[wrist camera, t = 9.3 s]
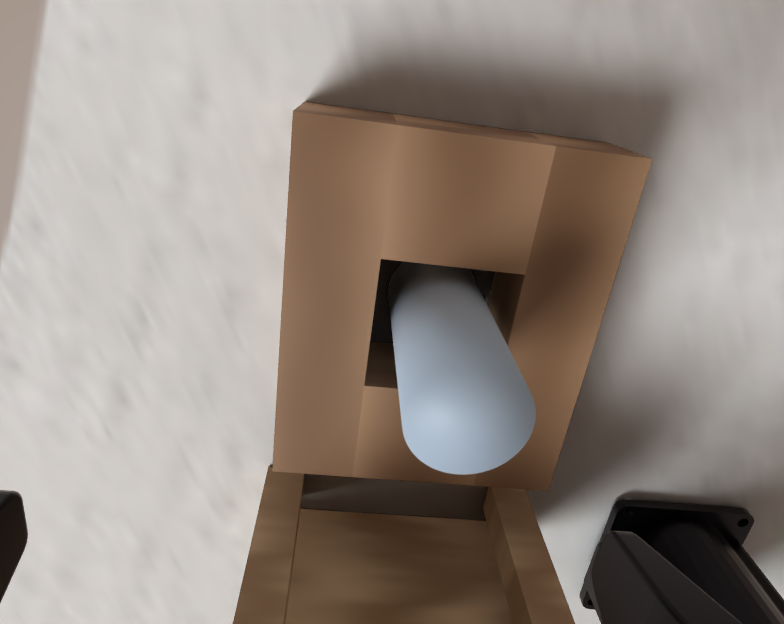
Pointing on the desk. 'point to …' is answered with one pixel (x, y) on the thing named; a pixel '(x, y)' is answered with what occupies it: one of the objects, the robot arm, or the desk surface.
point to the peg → (455, 372)
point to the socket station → (378, 370)
